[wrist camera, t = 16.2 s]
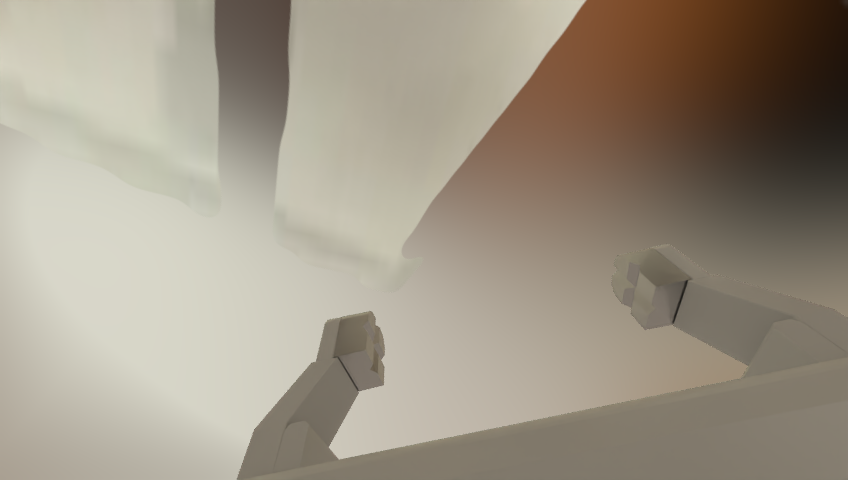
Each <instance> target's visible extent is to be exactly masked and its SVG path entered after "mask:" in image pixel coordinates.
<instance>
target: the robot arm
mask: <svg viewBox="0 0 848 480" xmlns="http://www.w3.org/2000/svg"><path fill="white" fill-rule="evenodd" d="M614 266H615V267H616V268H617V269H618V270H617V271H616V272H615V273H614V275H613V276H612V287H613V291H614V293H615V295H616V297H617V298H618V299H619V301H620V302H621V303H622V304H624V305H627V306H629V307H631V315H632V316H633V317H634V318H635V319H636V320H637V321H638V323H639V324H640V325H641V326H642V327H643V328H644V329H645V330H646V329H652V328H657V327H663V326H668V325H673V324H674V325H673V326H674V327H676V328H678V329H680V330H682V331H684V332H686V333H688V334H690V335H691V336H693V337H695V338H697V339H699V340H701V341H703V342H705V343H706V344H708V345H710V346H712V347H714V348H716V349H718V350H720V351H721V352H723V353H725V354H727V355H729V356H731V357H733V358H735V359H736V360H739V361H740V362H742V363H744V364H746V365H748V367H747V369H746V371H745V372H744V374H743V376H742V378H741V379H736V380H731V381H726V382H721V383H716V384H711V385H706V386H701V387H696V388H692V389H686V390H681V391H676V392H671V393H666V394H661V395H657V396H651V397H647V398H642V399H637V400H632V401H627V402H622V403H617V404H612V405H607V406H602V407H597V408H592V409H588V410H582V411H577V412H572V413H567V414H563V415H558V416H553V417H548V418H543V419H538V420H533V421H528V422H523V423H519V424H513V425H509V426H503V427H499V428H494V429H489V430H484V431H479V432H474V433H469V434H464V435H459V436H454V437H450V438H444V439H439V440H434V441H429V442H425V443H419V444H415V445H410V446H405V447H400V448H395V449H390V450H385V451H380V452H375V453H370V454H365V455H360V456H355V457H350V458H345V459H340V460H339V459H338V458H337V457H336V456H335V455H334V454H333V452H332V451H331V450H330V449H329V445H330V444H331V442H332V440H333V438H334V436H335V435H336V433H337V431H338V429H339V427H340V426H341V424H342V422H343V420H344V419H345V417H346V415H347V413H348V411H349V409H350V408H351V406H352V404H353V402H354V400H355V399H356V397H357V395H358V393H359V392H358V391H362V390H366V389H370V388H374V387H378V386H382V385H384V365H383V363H382V361H381V359H382V358H383V356H384V353H385V351H384V350H385V347H384V339H383V335H382V332H381V330H380V328H379V327H378V326H376V325H375V320H376V319H375V316H374V314H373V312H371V311H369V312H364V313H359V314H354V315H348V316H344V317H341V318H335V319H330V320H327V322H326V323H325V326H324V330H323V334H322V338H321V343H320V347H319V351H318V355H317V360H316V362H313V363H311V364H310V365H309V367H308V368H307V369H306V370H305V371H304V372H303V373H302V375H301V376H300V377H299V378H298V379H297V380H296V382H295V383H294V384H293V385H292V386H291V388H290V389H289V390H288V391H287V392H286V393H285V394H284V396H283V397H282V398H281V399H280V400H279V401H278V403H277V404H276V405H275V406H274V407H273V408H272V410H271V411H270V412H269V413H268V414H267V415H266V417H265V418H264V419H263V420H262V421H261V422H260V424H259V425H258V426H257V427H256V428H255V429H254V432H253V435H252V438H251V441H250V443H249V446H248V449H247V452H246V455H245V457H244V460H243V463H242V466H241V469H240V471H239V474H238V478H237V480H848V318H847V317H846V316H844V315H842V314H841V313H839V312H837V311H836V310H834V309H832V308H829V307H825V306H822V305H818V304H815V303H812V302H808V301H805V300H801V299H798V298H795V297H792V296H788V295H785V294H781V293H778V292H775V291H771V290H768V289H764V288H761V287H758V286H754V285H751V284H747V283H745V282H741V281H738V280H734V279H731V278H728V277H724V276H721V275H718V274H716V275H710V274H709V273H708V272H706V271H705V270H704V269H702V268H701V267H700V266H698V265H697V264H695V263H694V262H693V261H691V260H690V259H689V258H687V257H686V256H685V255H683V254H682V253H681V252H679V251H678V250H677V249H675V248H674V247H672V246H671V245H667V244H664V245H660V246H656V247H652V248H649V249H643V250H639V251H635V252H631V253H627V254H622V255H618V256H617V257H616V259H615V262H614Z"/></svg>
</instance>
